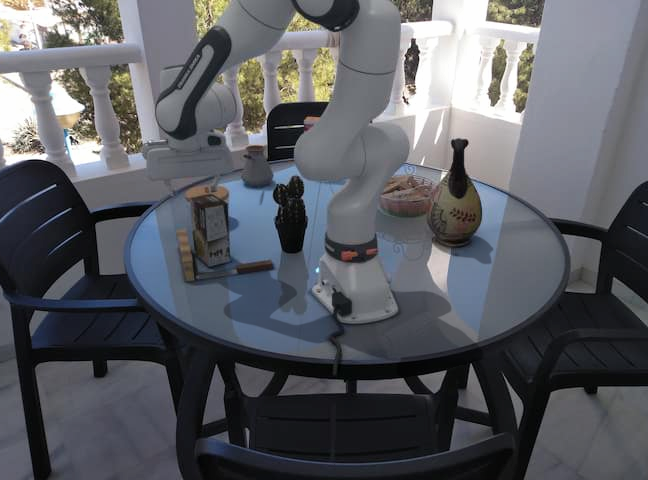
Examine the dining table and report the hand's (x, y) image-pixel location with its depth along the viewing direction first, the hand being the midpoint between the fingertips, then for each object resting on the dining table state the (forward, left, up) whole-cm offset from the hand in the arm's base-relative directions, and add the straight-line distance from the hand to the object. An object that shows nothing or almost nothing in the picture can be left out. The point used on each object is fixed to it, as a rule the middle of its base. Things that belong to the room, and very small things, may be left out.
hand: (194, 193), depth 131 cm
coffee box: (0, -2, -18) cm, 19 cm away
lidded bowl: (+24, -5, -19) cm, 31 cm away
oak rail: (-1, +4, -18) cm, 19 cm away
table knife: (-9, -7, -18) cm, 22 cm away
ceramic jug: (-10, -68, -19) cm, 71 cm away
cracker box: (+52, -50, -19) cm, 74 cm away
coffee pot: (+47, -23, -19) cm, 56 cm away
